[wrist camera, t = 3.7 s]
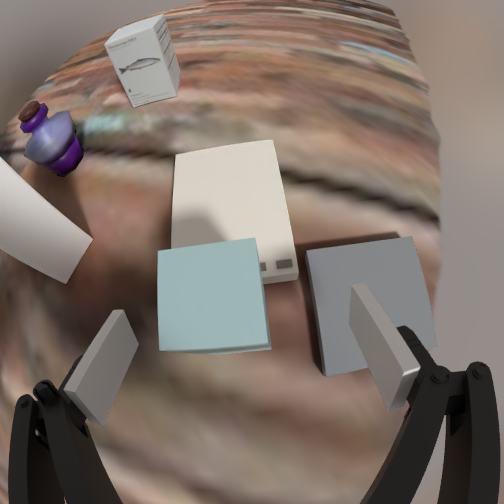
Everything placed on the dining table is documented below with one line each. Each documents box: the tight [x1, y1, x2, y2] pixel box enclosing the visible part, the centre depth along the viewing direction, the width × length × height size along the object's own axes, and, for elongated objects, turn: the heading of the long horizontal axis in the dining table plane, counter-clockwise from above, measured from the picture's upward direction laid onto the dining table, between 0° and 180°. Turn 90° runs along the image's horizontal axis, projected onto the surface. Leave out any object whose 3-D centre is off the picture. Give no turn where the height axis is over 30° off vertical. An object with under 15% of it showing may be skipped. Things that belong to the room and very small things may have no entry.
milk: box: [0, 157, 93, 284], centre depth 15 cm, size 6×6×22 cm
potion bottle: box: [18, 101, 83, 177], centre depth 26 cm, size 9×9×12 cm
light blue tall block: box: [157, 238, 272, 354], centre depth 16 cm, size 5×4×11 cm
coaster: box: [305, 236, 437, 377], centre depth 20 cm, size 10×10×2 cm
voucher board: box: [171, 140, 299, 284], centre depth 24 cm, size 14×10×2 cm
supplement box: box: [105, 14, 181, 108], centre depth 29 cm, size 7×7×13 cm
